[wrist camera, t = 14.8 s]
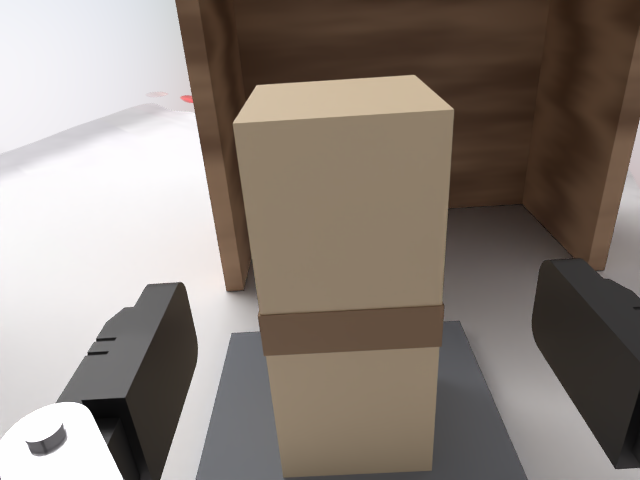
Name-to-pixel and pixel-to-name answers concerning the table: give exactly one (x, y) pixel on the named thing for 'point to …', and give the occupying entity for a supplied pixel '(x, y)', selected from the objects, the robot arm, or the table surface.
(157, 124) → the table surface
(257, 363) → the mat
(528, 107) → the cubby
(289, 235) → the block
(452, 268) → the table surface
